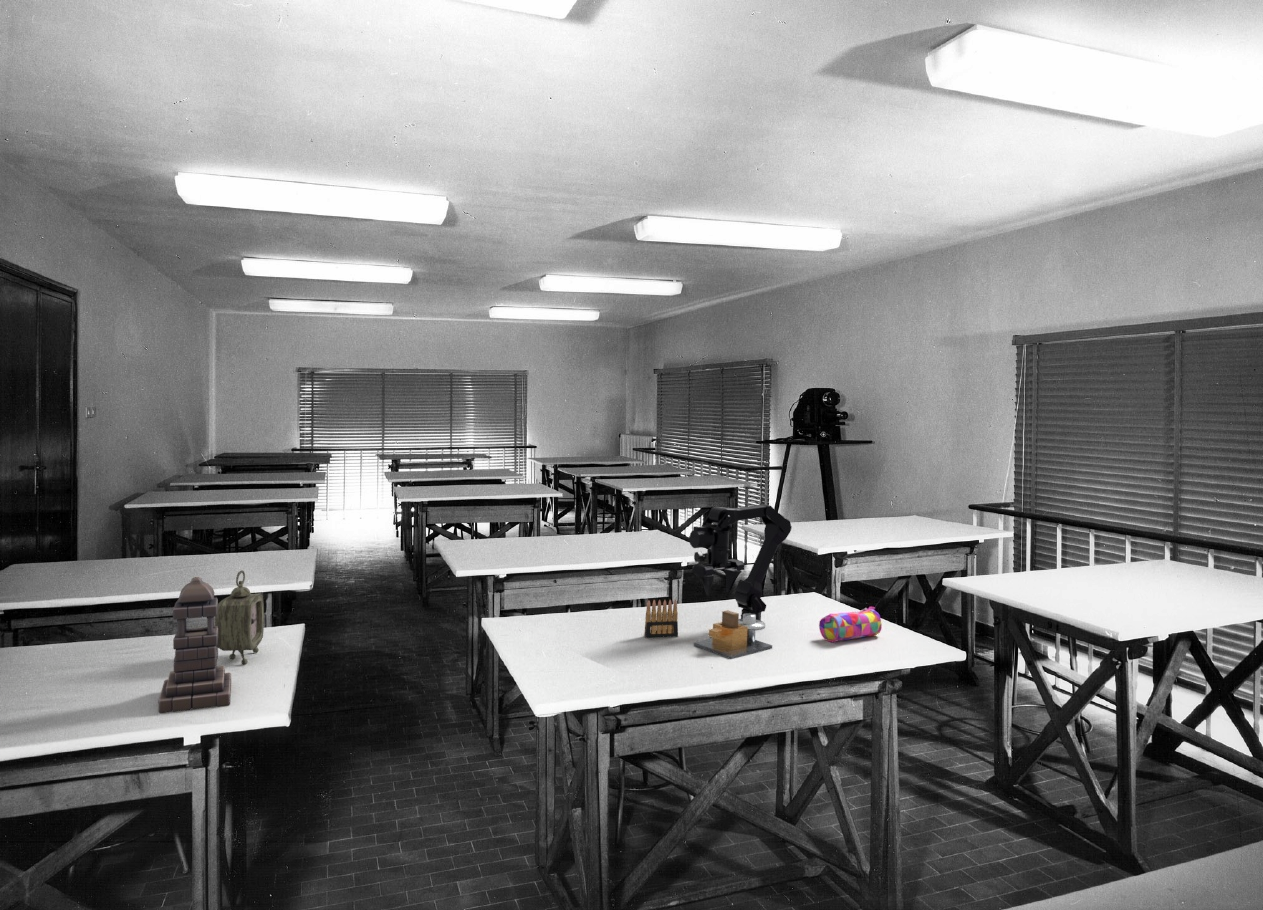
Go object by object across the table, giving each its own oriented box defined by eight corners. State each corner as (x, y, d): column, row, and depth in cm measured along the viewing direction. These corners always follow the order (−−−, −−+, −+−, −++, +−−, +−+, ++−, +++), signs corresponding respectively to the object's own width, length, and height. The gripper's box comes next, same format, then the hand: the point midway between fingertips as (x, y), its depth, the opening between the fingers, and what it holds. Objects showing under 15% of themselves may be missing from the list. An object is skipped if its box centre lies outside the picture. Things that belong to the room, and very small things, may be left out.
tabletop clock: (249, 666, 224) (248, 576, 223) (213, 667, 223) (213, 576, 221) (264, 650, 239) (263, 565, 237) (230, 651, 237) (230, 565, 235)
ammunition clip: (676, 635, 265) (677, 598, 264) (678, 636, 263) (679, 599, 262) (644, 636, 263) (645, 599, 262) (645, 638, 261) (646, 600, 260)
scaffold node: (740, 634, 267) (741, 607, 267) (778, 646, 255) (779, 618, 254) (693, 645, 254) (694, 616, 253) (731, 658, 242) (732, 628, 241)
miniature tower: (164, 691, 205) (162, 572, 203) (231, 684, 211) (230, 568, 209) (158, 714, 190) (156, 586, 188) (230, 705, 196) (229, 581, 194)
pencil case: (861, 630, 277) (862, 603, 276) (884, 637, 269) (885, 609, 268) (816, 639, 265) (817, 611, 264) (838, 646, 257) (839, 618, 256)
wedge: (726, 642, 255) (727, 610, 254) (737, 645, 252) (738, 613, 251) (721, 643, 253) (722, 611, 253) (732, 647, 250) (733, 614, 249)
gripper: (722, 539, 279) (720, 585, 280) (681, 544, 267) (680, 592, 268) (746, 544, 270) (744, 591, 271) (705, 550, 258) (703, 599, 259)
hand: (718, 593), depth 268 cm, fingers open, 9 cm apart
